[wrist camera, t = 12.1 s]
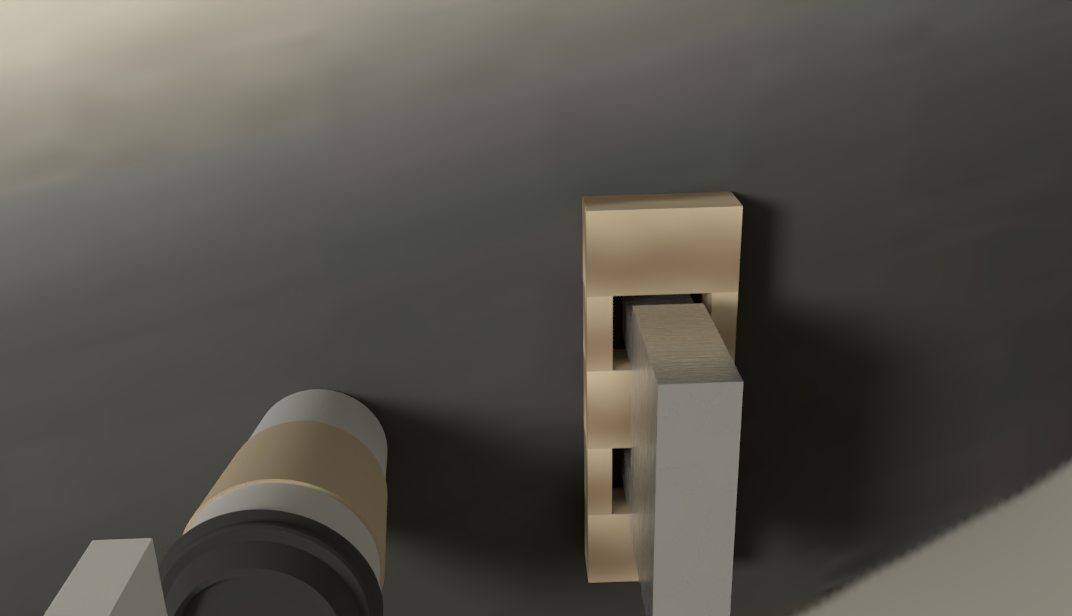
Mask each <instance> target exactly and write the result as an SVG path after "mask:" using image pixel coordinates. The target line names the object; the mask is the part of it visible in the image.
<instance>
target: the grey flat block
mask: <svg viewBox="0 0 1072 616" xmlns="http://www.w3.org/2000/svg"><path fill="white" fill-rule="evenodd" d="M622 336H623V339H624V343H625V347H626V350H627V354H628V357H629V361H630V365H631V368H632V380H631V448H621V477H622V482H623V487H624V492H625V497H626V501H627V506H628V511H629V516H630V537H631V542H632V547H633V552H634V557H635V562H636V567H637V572H638V577H639V582H640V587H641V592H642V597H643V602H644V607H645V612H646V616H730V604H731V587H732V570H733V553H734V536H735V518H736V501H737V484H738V467H739V450H740V432H741V415H742V398H743V380H742V378H741V376H740V374H739V372H738V370H737V368H736V366H735V364H734V362H733V360H732V358H731V356H730V354H729V352H728V350H727V348H726V346H725V344H724V342H723V340H722V338H721V336H720V334H719V332H718V330H717V328H716V326H715V324H714V323H713V321H712V319H711V317H710V315H709V313H708V311H707V309H706V307H705V305H704V303H699V304H694V302H693V300H692V298H691V296H690V294H663V295H633V296H622Z"/></svg>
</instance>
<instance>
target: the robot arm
mask: <svg viewBox="0 0 1072 616" xmlns="http://www.w3.org/2000/svg"><path fill="white" fill-rule="evenodd" d="M44 616H167V611H166V606H165V601H164V596H163V591H162V586H161V581H160V576H159V570H158V565H157V560H156V555H155V550H154V545H153V540H152V538H143V539H116V540H92V542H91V543H90V545H89V547H88V548H87V550H86V551H85V553H84V554H83V556H82V557H81V559H80V560H79V562H78V563H77V565H76V567H75V568H74V570H73V571H72V573H71V574H70V576H69V577H68V579H67V580H66V582H65V583H64V585H63V587H62V588H61V590H60V591H59V593H58V594H57V596H56V597H55V599H54V600H53V602H52V603H51V605H50V607H49V608H48V610H47V611H46V613H45V614H44Z"/></svg>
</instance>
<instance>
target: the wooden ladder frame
mask: <svg viewBox="0 0 1072 616" xmlns="http://www.w3.org/2000/svg"><path fill="white" fill-rule="evenodd" d="M742 214H743V206H742V204H741V203H740V202H739V201H738V199H737V198H736V197H735V196H734V194H733V193H732V192H700V193H668V194H636V195H604V196H582V218H583V358H584V498H585V559H586V567H587V575H588V583H595V582H621V581H639V577H638V572H637V567H636V562H635V557H634V552H633V547H632V542H631V537H630V516H629V511H628V506H627V501H626V497H625V492H624V487H620V488H612V448H631V380H632V368H631V365H630V361H629V357H628V354H627V350H626V349H613V296H633V295H663V294H693V293H702V299H701V303H704V305H705V307H706V309H707V311H708V313H709V315H710V317H711V319H712V321H713V323H714V324H715V326H716V328H717V330H718V332H719V334H720V336H721V338H722V340H723V342H724V344H725V346H726V348H727V350H728V352H729V354H730V356H731V358H732V360H733V362H735V343H736V325H737V306H738V288H739V269H740V251H741V232H742Z"/></svg>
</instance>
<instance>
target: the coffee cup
mask: <svg viewBox="0 0 1072 616" xmlns="http://www.w3.org/2000/svg"><path fill="white" fill-rule="evenodd" d="M386 467H387V441H386V437H385V433H384V431H383V428H382V426H381V424H380V423H379V421H378V419H377V418H376V417H375V415H374V414H373V413H372V412H371V411H370V410H369V409H368V408H367V407H366V406H365V405H363V404H362V403H361V402H359V401H358V400H356V399H354V398H353V397H350V396H348V395H346V394H343V393H340V392H336V391H332V390H324V389H313V390H305V391H301V392H297V393H294V394H292V395H289V396H287V397H285V398H284V399H282V400H280V401H279V402H278V403H276V404H275V405H274V406H273V407H272V408H271V409H270V410H269V411H268V412H267V413H266V415H265V416H264V418H263V419H262V421H261V422H260V424H259V425H258V427H257V428H256V430H255V431H254V433H253V434H252V436H251V437H250V439H249V440H248V441H247V442H246V443H245V444H244V445H243V446H242V447H241V449H240V450H239V451H238V452H237V454H236V455H235V457H234V458H233V460H232V461H231V462H230V464H229V465H228V467H227V468H226V470H225V471H224V472H223V474H222V475H221V477H220V478H219V480H218V481H217V482H216V484H215V485H214V487H213V488H212V490H211V491H210V492H209V494H208V495H207V497H206V498H205V500H204V501H203V502H202V504H201V505H200V507H199V508H198V510H197V511H196V512H195V514H194V515H193V517H192V518H191V520H190V521H189V523H188V525H187V527H186V529H185V531H184V533H183V536H181V537H180V538H179V539H178V540H177V541H176V542H175V543H174V544H173V545H172V547H171V548H170V549H169V550H168V552H167V553H166V555H165V556H164V558H163V560H162V562H161V564H160V566H159V569H158V570H159V576H160V581H161V586H162V591H163V596H164V601H165V606H166V611H167V616H383V600H382V594H381V590H382V587H383V582H384V574H385V547H386V521H387V484H386Z"/></svg>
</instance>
